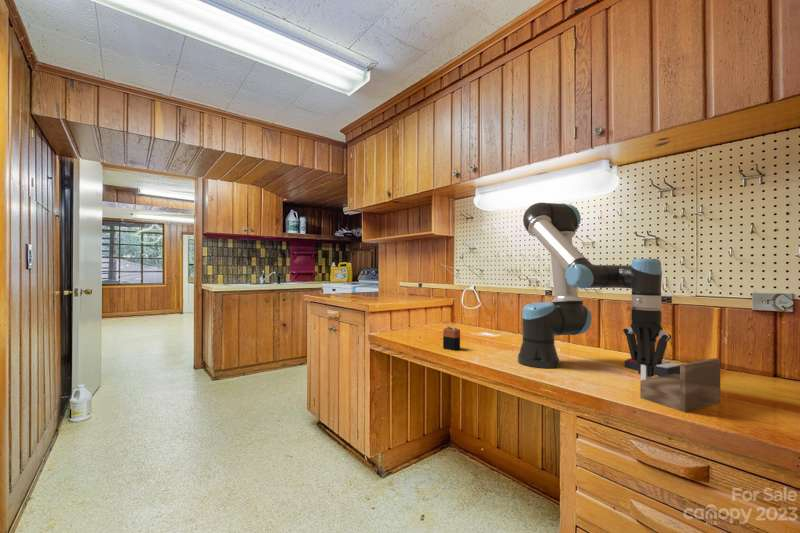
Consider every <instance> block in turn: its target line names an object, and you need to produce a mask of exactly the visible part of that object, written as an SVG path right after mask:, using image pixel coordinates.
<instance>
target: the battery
mask: <svg viewBox="0 0 800 533" xmlns="http://www.w3.org/2000/svg"><path fill="white" fill-rule="evenodd" d="M442 330H443V331H442V334H443V335H442V347H443V349H444V350H449V349H450V351H454V350H455V351H458V349H459V350H460V349H461V329H460V328H457V327H452V326H447V325H446V328H443V329H442Z"/></svg>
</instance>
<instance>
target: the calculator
mask: <svg viewBox="0 0 800 533" xmlns="http://www.w3.org/2000/svg"><path fill="white" fill-rule="evenodd" d="M645 364H646V363H645ZM680 364H681V363H680V362H679V363H678V362H674V361H672V362H671V361H669V360H666V359H665V360H664V359H663V360H662V363H661V364H660V365H655V366H654V375H655V376H656V375H657V376H656V377H660V376H665V375H670V374H679V375H680ZM624 368H626V369H630V370H633V371H638V363H637V362H636V361H635V360H632V359H631V358H627V359H626V360H624Z"/></svg>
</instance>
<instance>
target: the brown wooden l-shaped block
mask: <svg viewBox="0 0 800 533" xmlns="http://www.w3.org/2000/svg"><path fill="white" fill-rule="evenodd" d="M639 383H640V388H639V390H640V393H639V396H640V399H643V400H646V401H650V402H652V403H656V404H657V405H661V406H665V407H668V408H671V409H674V410H677V411H680V412H683V413H687V412H690V411H691V410H692V411H695V410H698V408H699V409H703V408H705V406H706V407H709V406H711V405H712V404H713V405H716V404H719V403H721V359H720V358H715V357H714V358H709V359H704V360H703V359H702V360H697V361H692V362H687V363H680V375H679V374H670V375H665V376H655V377H651V378H650V379H645V380H641V379H640V382H639ZM694 409H695V410H694Z"/></svg>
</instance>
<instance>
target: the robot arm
mask: <svg viewBox="0 0 800 533" xmlns="http://www.w3.org/2000/svg"><path fill="white" fill-rule="evenodd" d="M581 220H582V219H581V213H580V211H579V209H578V208H577V207H576V206H574V205H572V204H570V203H569V204H567V203H555V202H554V203H553V202H536V203H533V204H532V205H529V207H528V208H527V209H526V210H525V211H524V213H523V218H522V222H523V226H524V227H523V228H524V229H525V230H526V231H527V233H528V234H529V235H530V236H531V237H534V238H536V239H537V240H538V241H539V242H540V243H541V245H542V246H543V247H544V248H545V249H546V250H547V251H548V253H549V254H550V260H551V273H552V282H553V291H554V292H553V294H554V298H553V299H552V300H551V302H550V301H549V302H547V301H546V302H545V301H544V302H543V301H542V302H540V301H539V302H531V303H528V304H525V305H523V306H524V307H523V309H522V315H521V318H522V343H521V345H520V346H521V347H520V349H519V353H518V355H517V362H518V363H520V364H521V365H524V366H528V367H532V368H533V367H534V368H541V369H543V368H544V369H550V368H551V369H553V368H556V367H559V366H560V358H559V356H558V352H557V349H556V346H555V336H577V335H582V334H584V333H586V332H587V331H588V330H589V329H590V327H591V324H592V313H591V311H590V310H589V308H588V307H587V306H586V305H584V301H583V299H582V298H580V297H579V294H578V288H579V289H614V288H615V289H631V307H632V309H631V321H632V322H631V324H630V326H629V327H627V328H624V329H623V330H622V331H623V334H624V335H625V336H626V342H627V345H628V350H629V355H630V359H632V360H635V361H636V362H637V363H638V372H637V373H638V374H639V375H640V380H645V379H650V378H653V377H654V366H655V365H660V364H661V363H662V360H664V356H665V352H666V350H667V349H666V348H667V345H668V342H669V341H670V340H671V339H672V335H671V334H667V333H666V332H665V331H663V327H662V325H661V324H662V311H661V310H660V309H662V280H663V279H662V277H663V271H662V262H661V260H660V259H658V258H633V259H632V260H631V264H630V265H629V264H627V265H624V264H623V265H620V264H619V265H618V264H610V265H609V264H593V263H591V261H590V260H588V259H587V257H585V256H584V254H583V253H581V251H579V249H578V248H577V247H576V246H574V245H573V237H575V235H576V231H577V230H578V229H579V228H580V224H581ZM657 338H658V339H659V340H658V342H657ZM656 342H657V344H656ZM645 363H646V364H645Z"/></svg>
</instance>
